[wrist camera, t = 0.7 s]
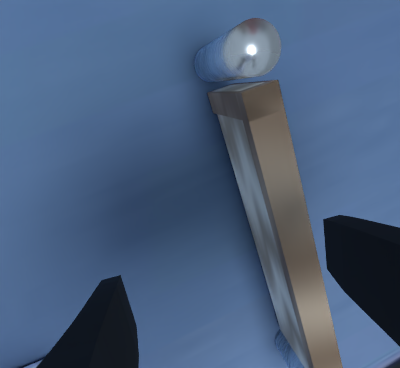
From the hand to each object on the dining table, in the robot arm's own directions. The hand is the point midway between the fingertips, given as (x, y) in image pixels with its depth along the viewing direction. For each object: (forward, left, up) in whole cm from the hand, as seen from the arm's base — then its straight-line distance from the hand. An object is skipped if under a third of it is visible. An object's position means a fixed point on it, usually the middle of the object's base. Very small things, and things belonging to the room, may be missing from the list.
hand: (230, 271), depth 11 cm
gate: (+4, -4, -9) cm, 11 cm away
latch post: (+4, +7, -10) cm, 12 cm away
